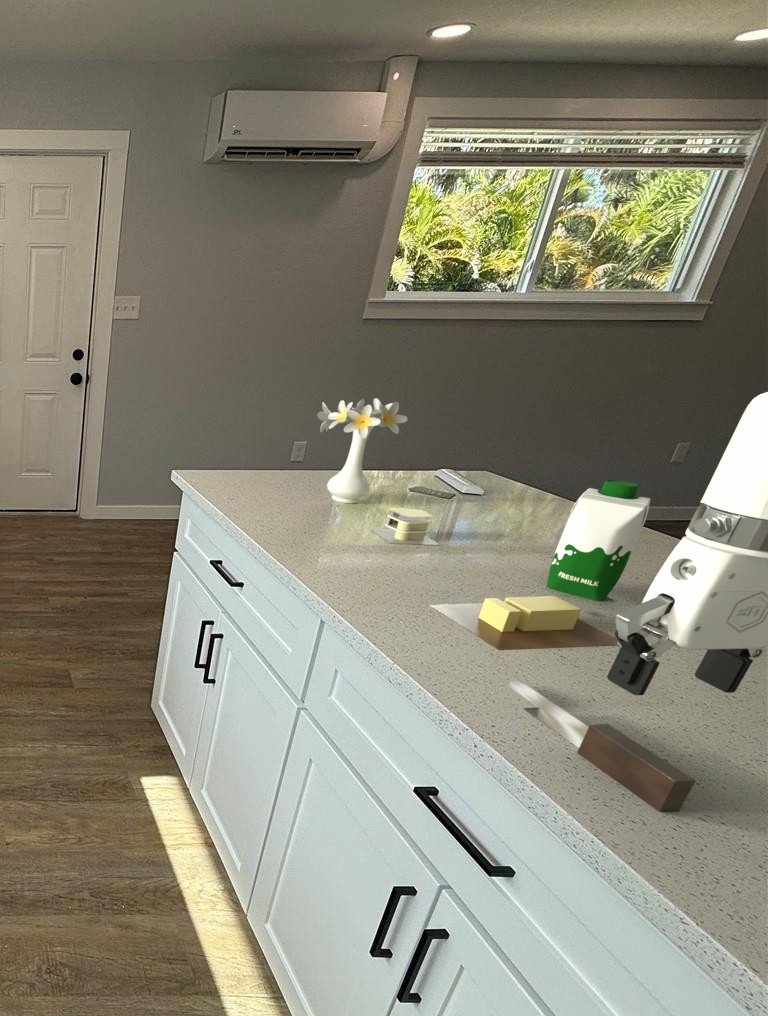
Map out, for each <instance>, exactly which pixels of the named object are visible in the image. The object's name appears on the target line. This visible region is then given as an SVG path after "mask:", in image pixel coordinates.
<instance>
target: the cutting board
mask: <svg viewBox="0 0 768 1016" xmlns="http://www.w3.org/2000/svg"><path fill="white" fill-rule="evenodd" d="M483 603H484V602H477V603H476V602H475V603H473V602H472V603H445V604H428V606H429V607H430V608H432V609H434V610H435V611H436V612H438V613H440V614H441V615H443V616H445V617H446V618H448V619H449V620H451V621H452V622H454V623H456V624H457V625H459V626H460V627H461V628H463V629H465V630H466V631H468V632H469V633H471V634H473V635H474V636H476V637H478V639H481V640H482V641H484V642H485V643H487V644H488V645H490V646H491V647H493V648H494V649H496V650H498V651H514V650H516V651H517V650H519V651H520V650H539V649H540V650H541V649H567V648H568V649H569V648H592V647H614V646H615V647H616V646H617V647H619V646H618V645H617V642H618V639H617V638H616V636H613V635H611V634H609V633H607V632H605V631H603V630H601V629H599V628H597V627H595V626H593V625H591V624H589V623H587V622H586V621H584V620H582V619H580V618H579V617H578V618H577V621H576V623H575V625H574V628H573V629H571V630H544V631H522V630H520V629H518V628H517V627H516V628H515V630H514V632H501V631H500V630H498V629H496V628H495V627H493V626H491V625H490V624H488V623H486V622H485V621H483V620H481V619H480V618H479V615H480V612H481V609H482V606H483Z"/></svg>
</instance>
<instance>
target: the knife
mask: <svg viewBox="0 0 768 1016" xmlns="http://www.w3.org/2000/svg"><path fill="white" fill-rule="evenodd" d="M508 688H510V689H511V690H513V691H514V692H516V693H517V694H519V695H520V696H521V697H523V698H524V699H525V700H528V701H529V702H530V703H531V704H533V705H534V706H535V707H523V708H522V709H523V710H524V711H526V712H527V713H529V714H530V715H531V716H533V717H534V718H536V719H537V720H539V721H540V722H542V723H543V724H544V725H545V726H547V727H548V728H550V729H551V730H553V731H554V732H556V733H557V734H558V735H559V736H561V737H563V738H564V739H565V740H567V741H568V742H569V743H571V744H572V745H574V746H575V747H577V748H578V749H577V753H576V754H579V755H580V756H581V757H583V758H584V759H585V760H587V761H588V762H590V763H591V764H592V765H594V766H595V767H597V769H599V770H600V771H602V772H603V773H605V774H606V775H608V776H609V777H610V778H612V779H613V780H615V781H616V782H617V783H619V784H620V785H622V786H623V787H624V788H625V789H627V790H628V791H629V792H631V793H633V794H634V795H635V796H637V797H638V798H639V799H641V800H643V801H644V802H645V803H647V804H648V806H651V807H652V808H654V809H655V811H658V812H660V813H661V812H678V811H680V809H681V808H682V806H683V805H684V803H685V801H686V799H687V798H688V796H689V794H690V792H691V790H692V788H693V787H694V785H695V783H696V782H697V780H696V779H694V778H693V777H691V776H689V775H688V774H686V773H685V772H683V771H682V770H681V769H678V768H677V767H675V766H673V765H672V764H670V763H669V762H668V761H666V760H665V759H664V758H662V757H660V756H658V755H657V754H655V753H654V752H652V751H651V750H650V749H648V748H646V747H644V746H643V745H641V744H640V743H638V741H635V740H634V739H632V738H630V737H629V736H627V735H626V734H625V733H622V732H621V731H619V729H617V728H615V727H614V726H611V724H609V723H601V724H589V725H588V724H587V723H585V722H584V721H582V720H580V719H579V718H577V717H576V716H575V715H573V714H571V713H570V712H569V711H567V710H565V709H564V708H563V707H561V706H559V705H558V704H557V703H555V702H554V701H552V700H551V699H550V698H547V697H546V696H545V695H543V694H542V693H540V692H539V691H537V690H536V689H534V688H533V687H531V686H529V685H528V684H526V683H525V682H524V681H522V680H520V679H519V678H518V677H516V676H512V677H511V679H510V682H509V684H508Z"/></svg>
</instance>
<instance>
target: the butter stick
mask: <svg viewBox="0 0 768 1016" xmlns="http://www.w3.org/2000/svg"><path fill="white" fill-rule="evenodd" d="M503 601H504V602H505V603H507V604H509V605H511V606H513V607H515V608H516V609H518V610H520V611H522V612H521V615H520V617H519V620H518V623H517V625H516V627H517V628H518V629H520V630H522V631H544V630H571V629H573V628H574V625H575V623H576V621H577V618H578V619H579V616H580V614H581V611H582V609H581V608H579V607H578V606H575V605H573V604H572V603H570V602H567V601H565V600H563V599H562V598H559V597H557V596H555V595H541V596H536V595H535V596H508V597H505V599H504V600H503Z"/></svg>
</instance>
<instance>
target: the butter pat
mask: <svg viewBox="0 0 768 1016" xmlns="http://www.w3.org/2000/svg"><path fill="white" fill-rule="evenodd" d="M504 601H505V600H502V599H500V598H498V597H486V598H484V601H483V602H482V603H483V606H482V609H481V612H480V615H479V618H480V619H481V620H483V621H485V622H486V623H488V624H490V625H491V626H493V627H495V628H496V629H498V630H500V631H501V632H514V630H515V628H516V625H517V623H518V620H519V617H520V615H521V612H522V611H520V610H518V609H516V608H515V607H513V606H511V605H509V604H507V603H505V602H504Z"/></svg>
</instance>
